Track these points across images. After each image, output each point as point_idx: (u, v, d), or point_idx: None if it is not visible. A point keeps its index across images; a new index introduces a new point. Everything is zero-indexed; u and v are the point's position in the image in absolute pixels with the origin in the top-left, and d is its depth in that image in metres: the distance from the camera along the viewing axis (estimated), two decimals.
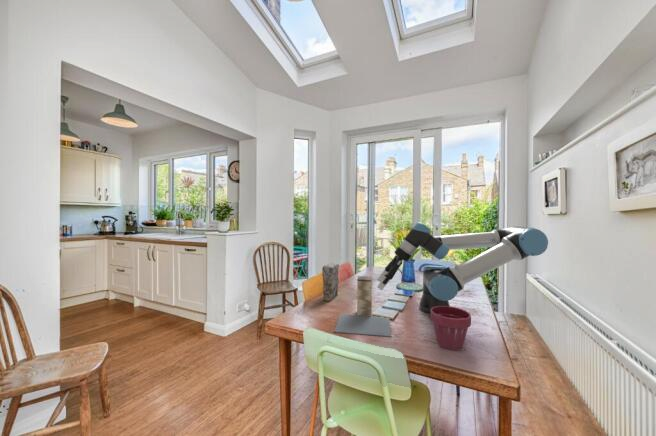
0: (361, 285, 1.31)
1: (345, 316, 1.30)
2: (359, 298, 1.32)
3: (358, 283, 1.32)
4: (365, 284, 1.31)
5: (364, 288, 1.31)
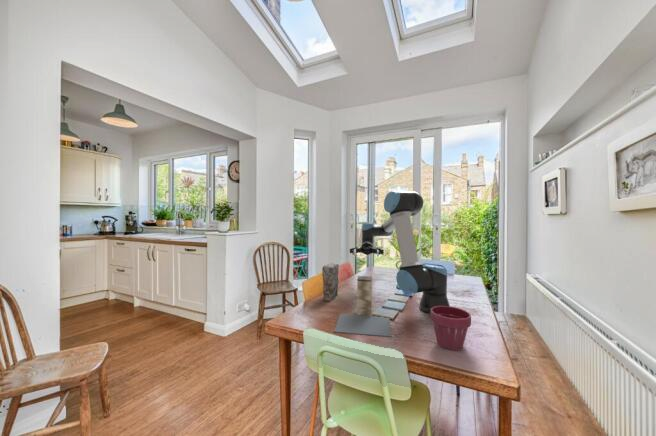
0: (361, 285, 1.31)
1: (345, 316, 1.30)
2: (359, 298, 1.32)
3: (358, 283, 1.32)
4: (365, 284, 1.31)
5: (364, 288, 1.31)
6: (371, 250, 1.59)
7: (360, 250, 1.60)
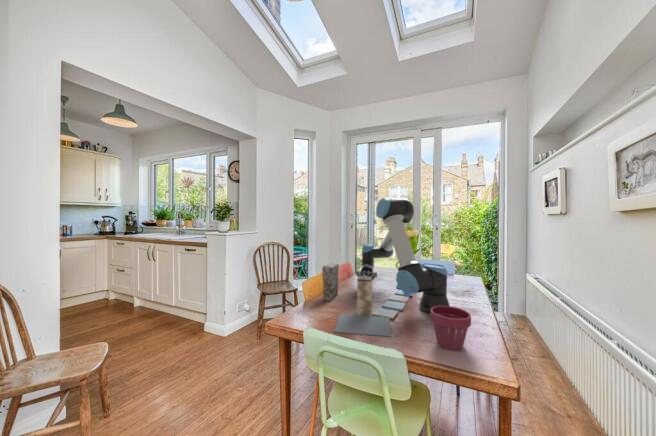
0: (361, 285, 1.31)
1: (345, 316, 1.30)
2: (359, 298, 1.32)
3: (358, 283, 1.32)
4: (365, 284, 1.31)
5: (364, 288, 1.31)
6: (367, 275, 1.59)
7: (365, 275, 1.58)
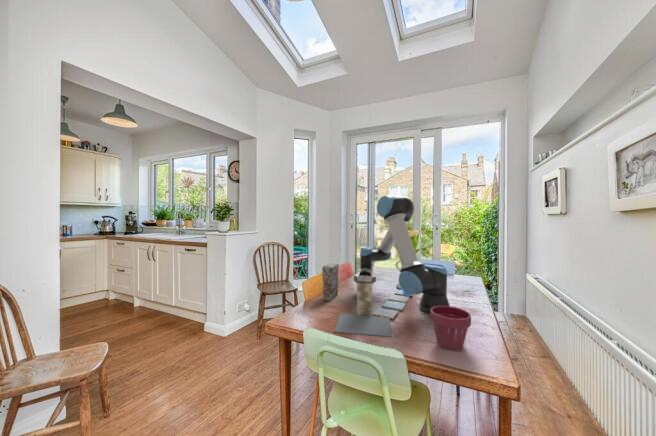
0: (361, 287, 1.29)
1: (345, 316, 1.30)
2: (359, 299, 1.31)
3: (358, 285, 1.29)
4: (365, 286, 1.29)
5: (364, 290, 1.29)
6: None
7: None
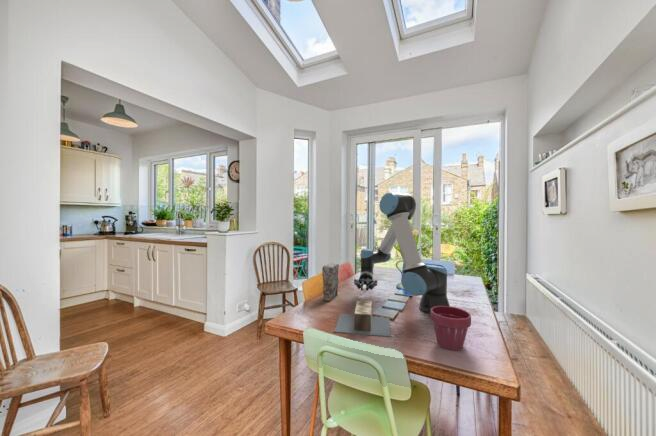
0: None
1: (345, 316, 1.30)
2: None
3: None
4: None
5: None
6: None
7: (364, 284, 1.42)
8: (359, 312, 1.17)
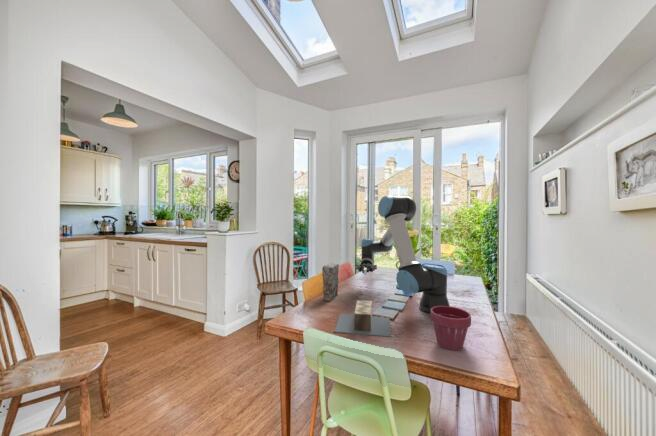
0: None
1: (345, 316, 1.30)
2: None
3: None
4: None
5: None
6: (367, 267, 1.59)
7: (364, 268, 1.58)
8: (359, 312, 1.17)
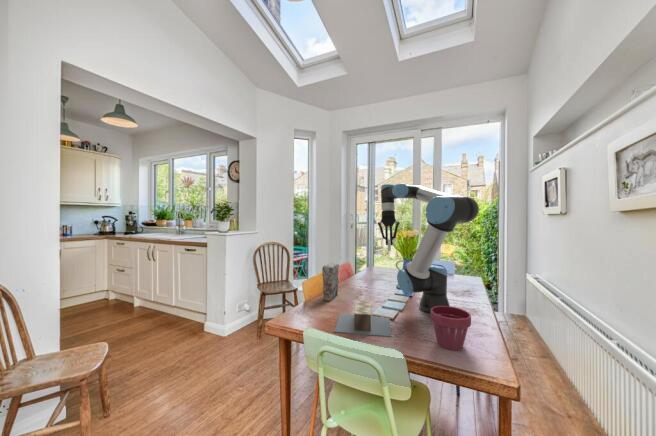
0: None
1: (345, 316, 1.30)
2: None
3: None
4: None
5: None
6: None
7: (387, 229, 1.56)
8: (359, 312, 1.17)
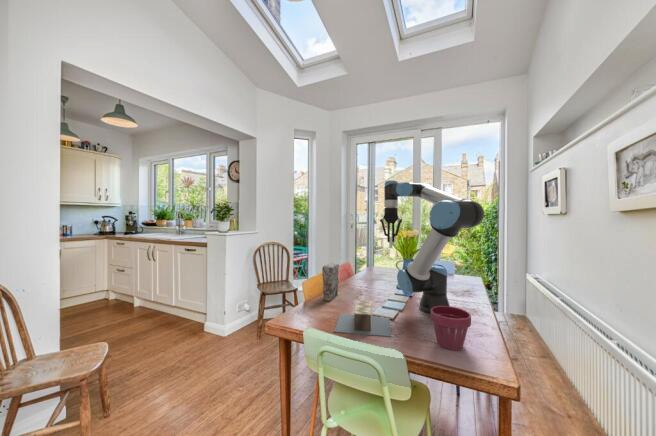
0: None
1: (345, 316, 1.30)
2: None
3: None
4: None
5: None
6: (392, 224, 1.55)
7: (389, 226, 1.55)
8: (359, 312, 1.17)
